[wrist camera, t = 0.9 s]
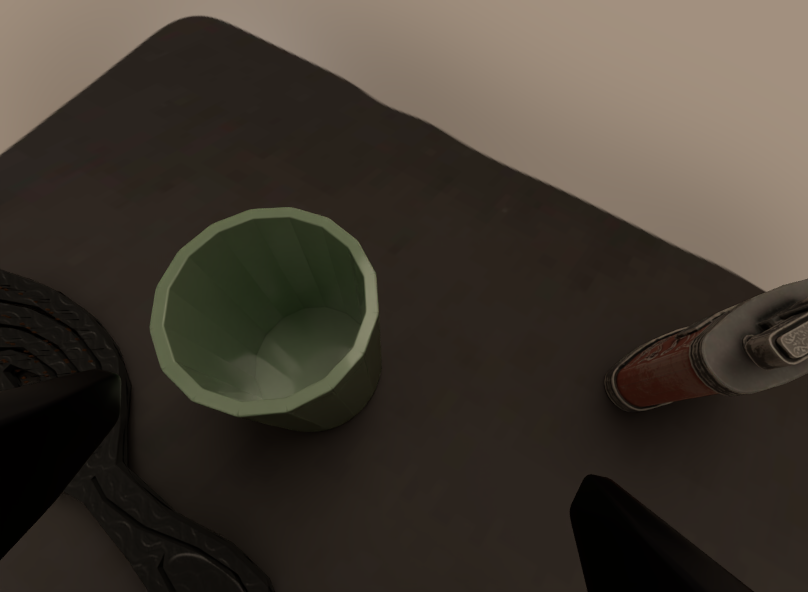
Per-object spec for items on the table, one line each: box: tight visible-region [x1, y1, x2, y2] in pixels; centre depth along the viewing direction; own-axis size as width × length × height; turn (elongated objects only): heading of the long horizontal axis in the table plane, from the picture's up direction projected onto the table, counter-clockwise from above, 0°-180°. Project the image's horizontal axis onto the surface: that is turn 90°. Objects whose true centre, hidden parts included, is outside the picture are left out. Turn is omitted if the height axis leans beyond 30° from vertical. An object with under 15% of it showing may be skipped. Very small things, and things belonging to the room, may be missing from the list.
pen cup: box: [150, 207, 382, 432], centre depth 17 cm, size 7×7×10 cm
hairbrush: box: [0, 269, 275, 592], centre depth 18 cm, size 8×4×25 cm
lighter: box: [604, 279, 808, 412], centre depth 18 cm, size 8×3×10 cm, turn 115°
